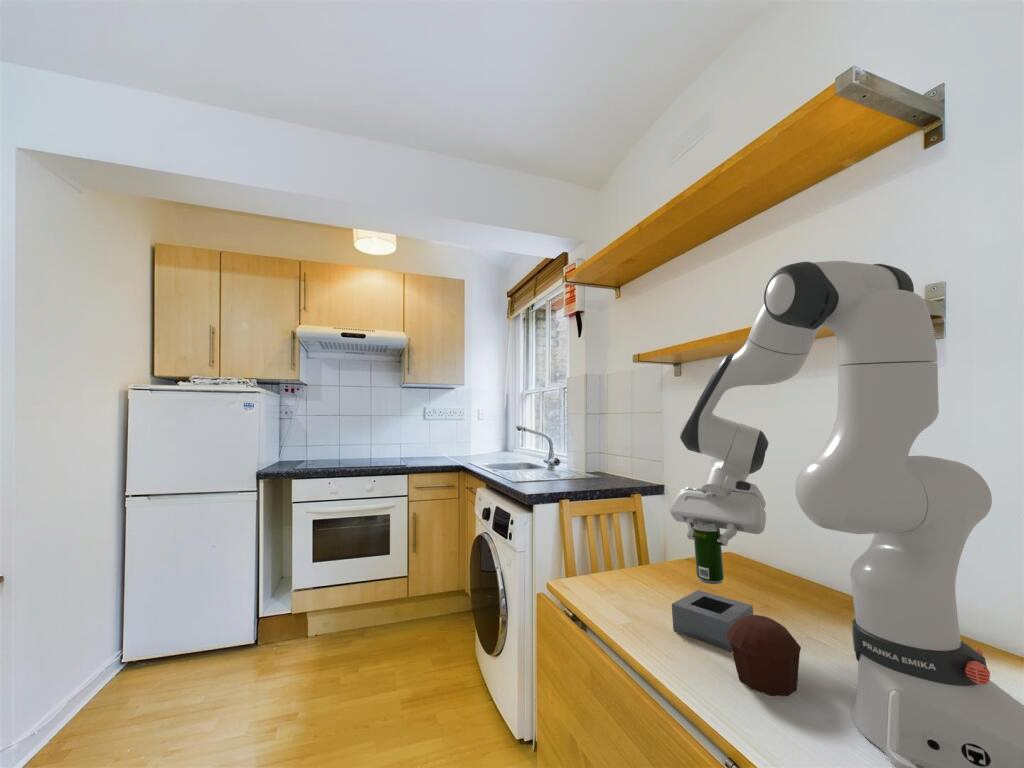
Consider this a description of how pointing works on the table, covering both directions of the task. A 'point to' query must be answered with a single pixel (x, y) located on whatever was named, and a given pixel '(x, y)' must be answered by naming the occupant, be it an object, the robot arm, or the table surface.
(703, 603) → the holder block
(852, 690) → the table surface
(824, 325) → the robot arm
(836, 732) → the table surface
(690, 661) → the table surface
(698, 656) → the table surface
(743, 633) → the muffin
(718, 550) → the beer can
